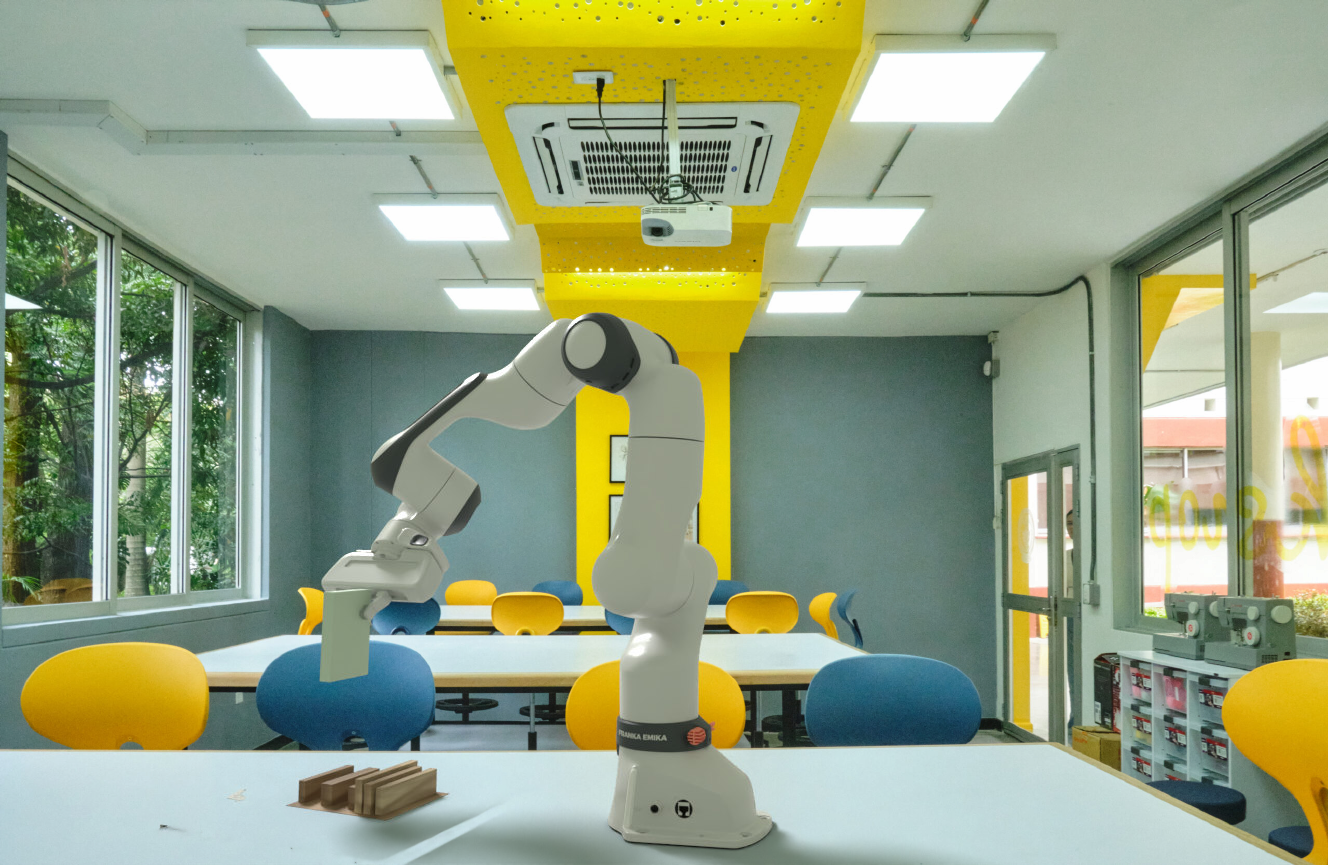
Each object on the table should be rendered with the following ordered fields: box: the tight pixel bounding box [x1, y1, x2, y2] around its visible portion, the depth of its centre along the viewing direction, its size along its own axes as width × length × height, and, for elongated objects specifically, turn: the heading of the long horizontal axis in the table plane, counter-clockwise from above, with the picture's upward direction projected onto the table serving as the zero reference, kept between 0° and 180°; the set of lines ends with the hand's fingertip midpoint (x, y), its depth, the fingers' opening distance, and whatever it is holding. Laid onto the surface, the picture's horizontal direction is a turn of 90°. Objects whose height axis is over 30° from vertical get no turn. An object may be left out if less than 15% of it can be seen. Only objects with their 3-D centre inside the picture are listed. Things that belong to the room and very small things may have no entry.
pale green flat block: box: [319, 589, 372, 683], centre depth 139 cm, size 2×8×13 cm, turn 156°
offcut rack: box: [285, 759, 450, 821], centre depth 134 cm, size 18×14×6 cm
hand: (355, 617), depth 141 cm, fingers closed on pale green flat block, 2 cm apart
